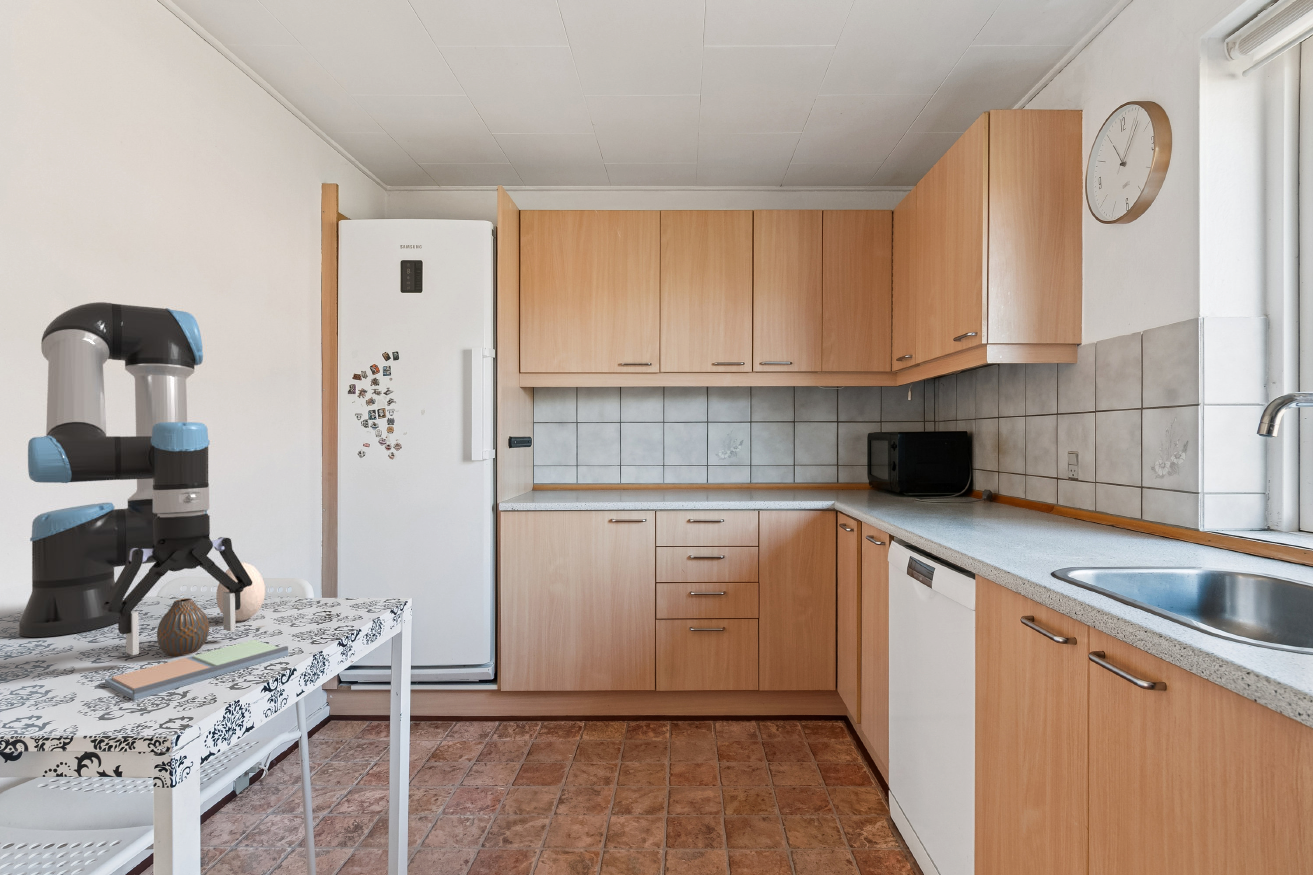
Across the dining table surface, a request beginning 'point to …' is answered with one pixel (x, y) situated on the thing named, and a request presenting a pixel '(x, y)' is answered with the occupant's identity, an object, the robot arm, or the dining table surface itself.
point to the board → (193, 669)
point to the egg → (245, 594)
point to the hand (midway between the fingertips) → (183, 641)
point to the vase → (182, 628)
